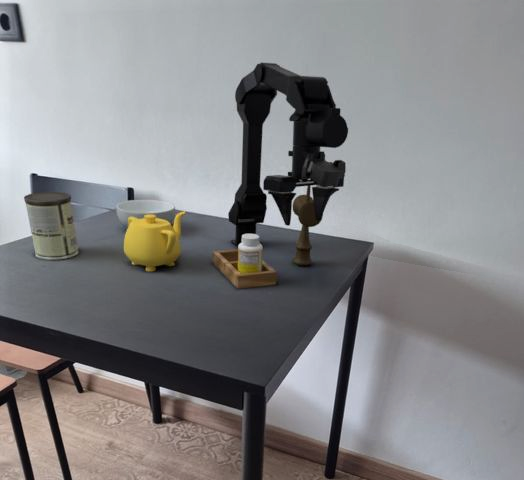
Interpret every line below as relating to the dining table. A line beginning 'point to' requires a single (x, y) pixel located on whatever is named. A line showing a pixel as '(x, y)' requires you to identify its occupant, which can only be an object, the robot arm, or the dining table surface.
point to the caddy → (229, 268)
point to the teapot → (153, 241)
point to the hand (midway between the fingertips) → (303, 223)
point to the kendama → (304, 227)
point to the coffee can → (52, 225)
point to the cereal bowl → (145, 210)
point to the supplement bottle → (250, 254)
